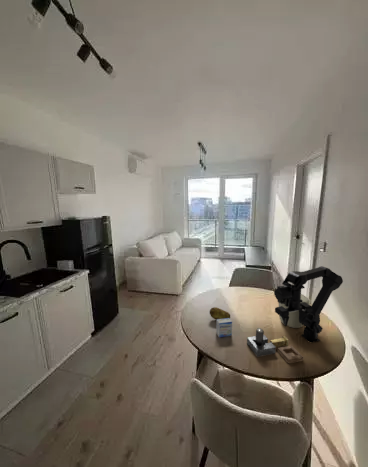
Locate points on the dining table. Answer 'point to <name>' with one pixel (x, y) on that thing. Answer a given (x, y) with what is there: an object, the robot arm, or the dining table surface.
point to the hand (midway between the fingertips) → (292, 324)
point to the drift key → (280, 342)
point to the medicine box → (224, 327)
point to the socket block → (261, 350)
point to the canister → (294, 314)
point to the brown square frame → (290, 354)
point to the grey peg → (259, 337)
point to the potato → (218, 313)
